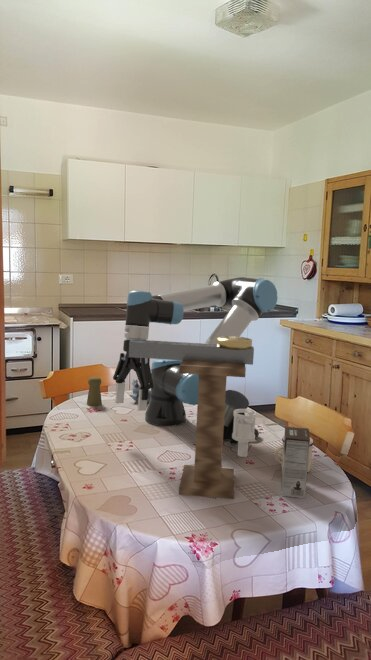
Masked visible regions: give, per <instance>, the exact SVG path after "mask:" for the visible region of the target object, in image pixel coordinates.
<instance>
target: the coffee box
mask: <svg viewBox="0 0 371 660" xmlns="http://www.w3.org/2000/svg"><path fill="white" fill-rule="evenodd" d="M283 436H284V448H283V462H282V467H281V478H280V479H281V483H280V484H281V485H280V486H281V487H280V488H281V489H280V491H281V492H280V493H281V494H280V495H284V496H283V497H286V496H291V497H290V498H294V497H299V498H298V499H302V498H305V499H306V492H307V479H308V473H307V469H308V458H309V446H310V429H309V428H306V427H294V426H285V427H284V435H283Z"/></svg>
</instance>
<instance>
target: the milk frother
mask: <svg viewBox="0 0 371 660" xmlns="http://www.w3.org/2000/svg"><path fill="white" fill-rule="evenodd" d="M249 406H250V401H249V400H248V398H247V396H246V395H244V394H243V393H242V392H239V391H237V390H234V389H226V395H225V413H224V431H223V441H229V443H230V444H231V445H236V444H237V445H238V441H236V440H234V439H233V438H232V433H233V426H234V415H233V412H234V410H236V409H249V408H248V407H249ZM237 414H240V415H246V413H237ZM254 434H255V440H256V439H257V438H259V436H260V431H259V430H258V429H257V428H255V430H254Z"/></svg>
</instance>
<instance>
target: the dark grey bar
mask: <svg viewBox="0 0 371 660" xmlns="http://www.w3.org/2000/svg"><path fill="white" fill-rule="evenodd" d="M254 353H255V348H254V346H253V339H252V338H248V337H243V336H240V337H237V336H222V337H218V338H217V344H204V343H199V342H184V341H179V342H178V341H166V340H165V341H164V340H163V341H162V340H148V339H147V340H133V339H132V340H131V341H130V342H129V357H135V358H150V359H151V360H153V359H154V360H156V359H168V360H184V361H201V362H217V363H233V364H245V365H251V366H253V365H254V355H255V354H254Z"/></svg>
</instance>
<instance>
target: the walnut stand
mask: <svg viewBox="0 0 371 660" xmlns="http://www.w3.org/2000/svg"><path fill="white" fill-rule="evenodd" d="M246 370H247V369H246V364H233V363H217V362H201V361H184V360H182V362H181V364H180V373H184V374H199V385H198V404H197V410H196V411H197V412H196V430H195V448H194V449H195V451H194V465H192V464H191V465H189V464H184V466H183V469H182V473H181V477H180V482H179V487H178V495H182V496H183V495H184V496H185V495H186V496H196V497H208V498H220V499H232V500H233V499H234V498H235V497H234V496H235V469H234V468H232V467H231V468H229V467H222V464H223V447H224V445H223V444H224V440H223V431H224V413H225V395H226V391H227V377H235V378H246Z"/></svg>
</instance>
